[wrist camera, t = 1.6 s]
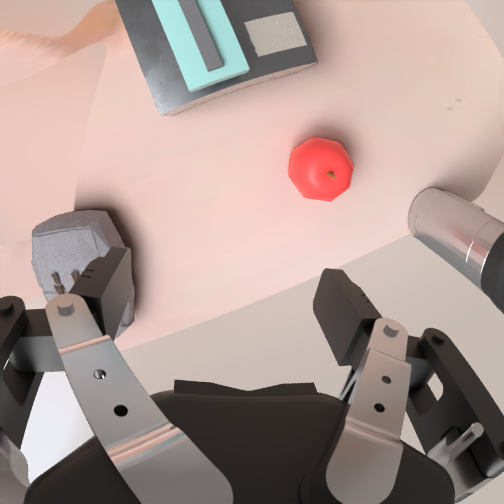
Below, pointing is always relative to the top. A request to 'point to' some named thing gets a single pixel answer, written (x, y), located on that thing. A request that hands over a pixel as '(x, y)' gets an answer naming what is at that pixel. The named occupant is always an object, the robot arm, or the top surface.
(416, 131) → the top surface
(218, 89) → the box
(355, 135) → the top surface
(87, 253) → the small grey backpack
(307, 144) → the apple
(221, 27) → the bar
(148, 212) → the top surface
